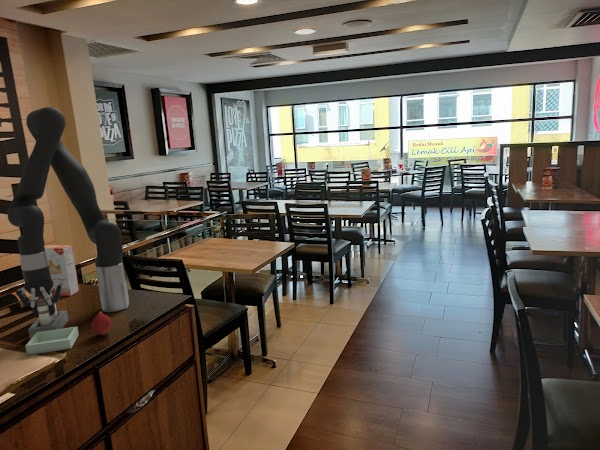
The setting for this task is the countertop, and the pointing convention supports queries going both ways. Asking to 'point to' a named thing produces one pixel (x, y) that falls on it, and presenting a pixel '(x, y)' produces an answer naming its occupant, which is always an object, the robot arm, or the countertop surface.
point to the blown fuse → (44, 312)
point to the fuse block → (57, 324)
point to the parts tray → (52, 340)
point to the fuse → (55, 313)
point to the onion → (101, 324)
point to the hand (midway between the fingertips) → (45, 315)
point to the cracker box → (62, 268)
